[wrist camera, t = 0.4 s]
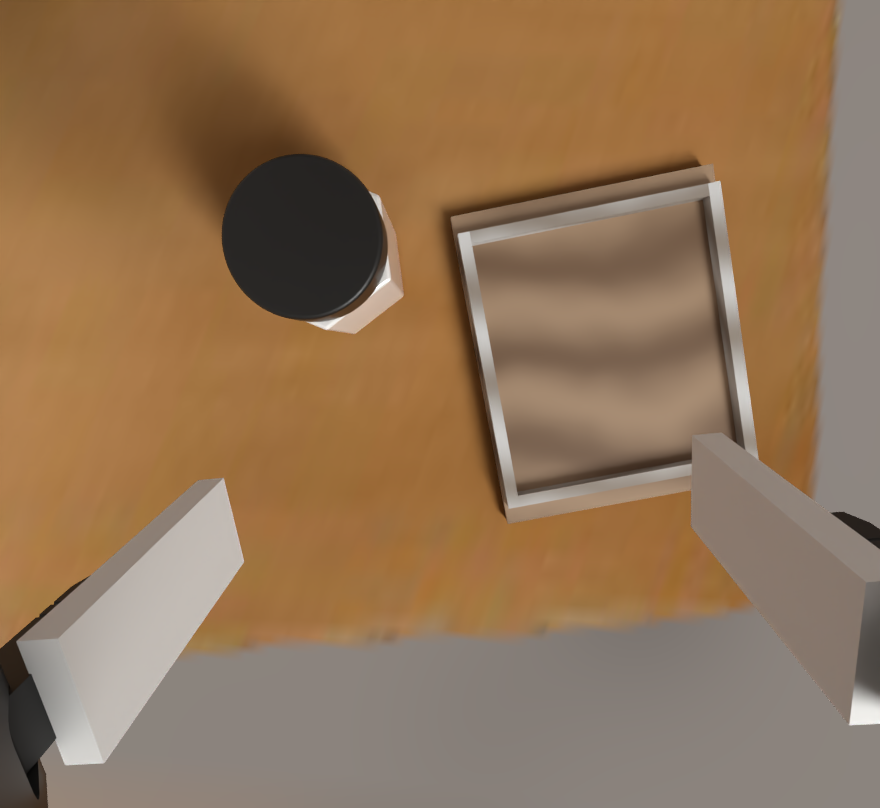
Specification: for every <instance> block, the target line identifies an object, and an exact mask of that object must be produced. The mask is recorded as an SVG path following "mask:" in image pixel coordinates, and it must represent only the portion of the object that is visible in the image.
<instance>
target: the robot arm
mask: <svg viewBox="0 0 880 808" xmlns="http://www.w3.org/2000/svg"><path fill="white" fill-rule="evenodd" d="M691 527H692V528H693V530H694V531H695V532H696V533H697V535H698V536H699V537H700V538H701V540H702V541H703V542H704V543H705V545H706V546H707V547H708V548H709V550H710V551H711V552H712V554H713V555H714V556H715V557H716V559H717V560H718V561H719V562H720V564H721V565H722V566H723V567H724V569H725V570H726V571H727V572H728V574H729V575H730V576H731V577H732V579H733V580H734V581H735V582H736V584H737V585H738V586H739V587H740V589H741V590H742V591H743V592H744V594H745V595H746V596H747V597H748V599H749V600H750V601H751V602H752V604H753V605H754V606H755V607H756V609H757V610H758V611H759V612H760V614H761V615H762V616H763V617H764V619H765V620H766V621H767V623H768V624H769V625H770V626H771V627H772V629H773V630H774V631H775V633H776V634H777V635H778V636H779V638H780V639H781V640H782V641H783V643H784V644H785V645H786V646H787V648H788V649H789V650H790V651H791V653H792V654H793V655H794V656H795V658H796V659H797V660H798V661H799V663H800V664H801V665H802V666H803V668H804V669H805V670H806V671H807V673H808V674H809V675H810V676H811V678H812V679H813V680H814V681H815V683H816V684H817V685H818V686H819V688H820V689H821V690H822V692H823V693H824V694H825V695H826V697H827V698H828V699H829V700H830V702H831V703H832V704H833V705H834V707H835V708H836V709H837V710H838V712H839V713H840V714H841V715H842V717H843V718H844V719H845V720H846V721H847V723H848V724H849V725H862V724H880V529H879V528H877V527H875V526H874V525H873V524H871V523H869V522H867V521H864V520H862V519H859V518H857V517H855V516H852V515H850V514H847V513H845V512H834V513H830V512H828V511H827V510H826V509H824V508H823V507H822V506H820V505H819V504H817V503H816V502H815V501H814V500H812V499H811V498H809V497H808V496H807V495H805V494H804V493H803V492H801V491H800V490H799V489H797V488H796V487H795V486H793V485H792V484H790V483H789V482H788V481H786V480H785V479H784V478H782V477H781V476H780V475H778V474H777V473H776V472H774V471H773V470H772V469H770V468H769V467H767V466H766V465H765V464H763V463H762V462H761V461H759V460H758V459H757V458H755V457H754V456H753V455H751V454H750V453H749V452H747V451H746V450H744V449H743V448H742V447H740V446H739V445H738V444H736V443H735V442H734V441H732V440H731V439H730V438H728V437H727V436H725V435H724V434H723V433H711V434H701V435H692V488H691ZM243 563H244V559H243V555H242V551H241V547H240V543H239V539H238V535H237V530H236V526H235V522H234V518H233V514H232V510H231V506H230V502H229V498H228V494H227V490H226V486H225V482H224V478H218V479H207V480H198V481H197V482H196V483H194V484H193V485H192V486H191V487H190V488H189V489H188V490H187V491H185V492H184V493H183V494H182V495H181V496H180V497H179V498H178V499H176V500H175V501H174V502H173V503H172V504H171V505H170V506H169V507H167V508H166V509H165V510H164V511H163V512H162V513H161V514H159V515H158V516H157V517H156V518H155V519H154V520H153V521H152V522H150V523H149V524H148V525H147V526H146V527H145V528H144V529H143V530H141V531H140V532H139V533H138V534H137V535H136V536H135V537H134V538H132V539H131V540H130V541H129V542H128V543H127V544H126V545H124V546H123V547H122V548H121V549H120V550H119V551H118V552H117V553H115V554H114V555H113V556H112V557H111V558H110V559H109V560H108V561H106V562H105V563H104V564H103V565H102V566H101V567H100V568H99V569H97V570H96V571H95V572H94V573H93V574H92V575H90V576H89V577H87V578H85V579H83V580H82V581H80V582H78V583H77V584H75V585H73V586H72V587H71V588H69V589H68V590H67V591H66V592H65V593H64V594H62V595H61V596H60V597H59V598H58V599H57V600H56V601H54V605H50V606H49V607H48V608H46V609H45V610H44V611H43V612H42V613H41V614H40V617H38V618H35V619H34V620H33V621H32V622H30V623H29V624H28V625H27V626H26V627H25V628H23V629H22V630H21V631H20V632H19V633H18V634H17V635H15V636H14V637H13V638H12V639H11V640H10V641H9V642H7V643H6V644H5V645H4V646H3V647H2V648H1V649H0V808H48V802H47V801H48V800H47V783H46V773H45V771H44V768H43V766H42V763H41V761H40V757H41V756H42V755H43V754H44V753H45V751H46V750H47V749H48V748H49V747H50V745H51V744H52V743H53V742H54V741H56V743H57V745H58V748H59V751H60V753H61V756H62V758H63V761H64V763H65V765H77V764H97V763H105V761H106V760H107V758H108V757H109V755H110V754H111V753H112V751H113V750H114V748H115V747H116V745H117V744H118V742H119V741H120V740H121V738H122V737H123V735H124V734H125V732H126V731H127V730H128V728H129V727H130V725H131V724H132V722H133V721H134V719H135V718H136V716H137V715H138V714H139V712H140V711H141V709H142V708H143V707H144V705H145V704H146V702H147V701H148V699H149V698H150V696H151V695H152V693H153V692H154V691H155V689H156V688H157V686H158V685H159V684H160V682H161V680H162V679H163V678H164V676H165V675H166V673H167V672H168V671H169V669H170V668H171V666H172V665H173V663H174V662H175V661H176V659H177V658H178V656H179V655H180V653H181V652H182V650H183V649H184V648H185V646H186V645H187V643H188V642H189V640H190V639H191V638H192V636H193V635H194V633H195V632H196V630H197V629H198V627H199V626H200V625H201V623H202V622H203V620H204V619H205V617H206V616H207V614H208V613H209V612H210V610H211V609H212V607H213V606H214V604H215V603H216V602H217V600H218V599H219V597H220V596H221V594H222V593H223V591H224V590H225V589H226V587H227V586H228V584H229V583H230V581H231V580H232V579H233V577H234V576H235V574H236V573H237V571H238V570H239V568H240V567H241V566H242V564H243Z"/></svg>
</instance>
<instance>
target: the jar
mask: <svg viewBox="0 0 880 808" xmlns="http://www.w3.org/2000/svg"><path fill="white" fill-rule="evenodd" d="M222 246H223V252H224V256H225V260H226V263H227V266H228V268H229V270H230V273H231V275H232V276H233V278H234V280H235V281H236V283H237V284H238V286H239V287H240V288H241V290H242V291H243V292H244V293H245V294H246V295H247V296H248V297H249V298H250V299H251V300H252V301H253V302H255V303H256V304H257V305H259V306H260V307H262V308H263V309H265V310H267V311H269V312H271V313H273V314H276V315H278V316H281V317H285V318H289V319H294V320H300V321H305V322H308V323H310V324H313V325H315V326H317V327H320V328H322V329H324V330H330V331H337V332H344V333H350V334H355V333H357V332H358V331H359V330H361V329H362V328H363V327H365V326H366V325H367V324H368V323H370V322H371V321H372V320H374V319H375V318H376V317H377V316H379V315H380V314H381V313H383V312H384V311H385V310H386V309H388V308H389V307H390V306H392V305H393V304H394V303H395V302H397V301H398V300H399V299H401V298H402V297H403V295H404V291H403V284H402V276H401V269H400V261H399V253H398V246H397V238H396V232H395V230H394V228H393V225H392V223H391V221H390V219H389V216H388V214H387V212H386V210H385V207H384V205H383V203H382V201H381V198H380V196H379V195H377V194H375V193H373V192H370V191H368V189H367V188H366V187H365V185H364V184H363V183H362V182H361V181H360V180H359V179H358V178H357V177H356V176H355V175H354V174H353V173H352V172H350V171H349V170H348V169H346V168H345V167H343V166H342V165H340V164H338V163H336V162H334V161H332V160H329V159H327V158H323V157H320V156H315V155H309V154H292V155H285V156H281V157H277V158H274V159H271V160H269V161H267V162H265V163H263V164H261V165H260V166H258V167H257V168H255V169H254V170H252V171H251V172H250V173H249V174H248V175H247V176H246V177H245V178H244V179H243V180H242V181H241V182H240V183H239V185H238V186H237V187H236V189H235V190H234V192H233V194H232V196H231V197H230V200H229V202H228V204H227V207H226V210H225V214H224V218H223V224H222Z"/></svg>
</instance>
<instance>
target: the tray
mask: <svg viewBox="0 0 880 808" xmlns="http://www.w3.org/2000/svg"><path fill="white" fill-rule="evenodd" d="M451 226H452V231H453V237H454V242H455V247H456V253H457V258H458V263H459V269H460V274H461V280H462V285H463V290H464V296H465V301H466V306H467V312H468V317H469V322H470V328H471V333H472V339H473V344H474V349H475V355H476V360H477V365H478V371H479V376H480V381H481V387H482V392H483V397H484V403H485V408H486V414H487V419H488V424H489V430H490V435H491V440H492V446H493V451H494V456H495V462H496V467H497V473H498V478H499V483H500V489H501V494H502V499H503V505H504V510H505V515H506V520H507V523H508V524H510V523H515V522H520V521H526V520H531V519H537V518H542V517H548V516H553V515H558V514H564V513H569V512H575V511H580V510H586V509H591V508H596V507H602V506H607V505H613V504H618V503H624V502H629V501H635V500H640V499H645V498H651V497H656V496H662V495H667V494H673V493H678V492H683V491H689V490H691V488H692V435H701V434H711V433H723V434H724V435H725V436H727V437H728V438H730V439H731V440H732V441H734V442H735V443H736V444H738V445H739V446H740V447H742V448H743V449H744V450H746V451H747V452H749V453H750V454H751V455H753V456H754V457H755V458H757V459H758V452H757V445H756V437H755V430H754V423H753V415H752V408H751V401H750V394H749V386H748V379H747V372H746V365H745V357H744V350H743V343H742V335H741V328H740V321H739V314H738V306H737V299H736V292H735V284H734V277H733V270H732V263H731V255H730V248H729V241H728V233H727V226H726V219H725V212H724V204H723V197H722V190H721V182H720V181H717V182H715V175H714V168H713V164H709V165H704V166H699V167H694V168H689V169H684V170H679V171H674V172H670V173H665V174H660V175H655V176H650V177H645V178H640V179H635V180H630V181H625V182H620V183H615V184H610V185H605V186H600V187H595V188H590V189H586V190H581V191H576V192H571V193H566V194H561V195H556V196H551V197H546V198H541V199H536V200H531V201H526V202H521V203H516V204H511V205H506V206H502V207H497V208H492V209H487V210H482V211H477V212H472V213H467V214H462V215H457V216H452V217H451ZM758 460H759V459H758Z"/></svg>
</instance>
